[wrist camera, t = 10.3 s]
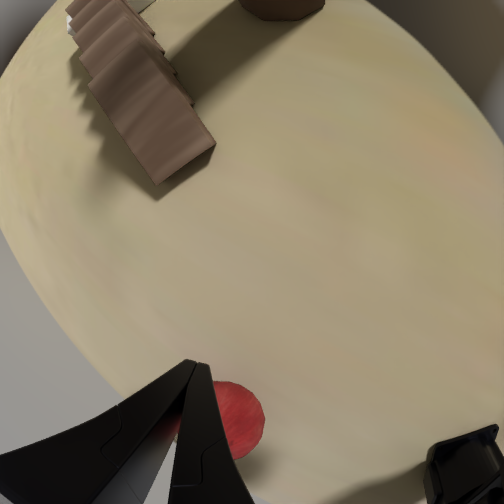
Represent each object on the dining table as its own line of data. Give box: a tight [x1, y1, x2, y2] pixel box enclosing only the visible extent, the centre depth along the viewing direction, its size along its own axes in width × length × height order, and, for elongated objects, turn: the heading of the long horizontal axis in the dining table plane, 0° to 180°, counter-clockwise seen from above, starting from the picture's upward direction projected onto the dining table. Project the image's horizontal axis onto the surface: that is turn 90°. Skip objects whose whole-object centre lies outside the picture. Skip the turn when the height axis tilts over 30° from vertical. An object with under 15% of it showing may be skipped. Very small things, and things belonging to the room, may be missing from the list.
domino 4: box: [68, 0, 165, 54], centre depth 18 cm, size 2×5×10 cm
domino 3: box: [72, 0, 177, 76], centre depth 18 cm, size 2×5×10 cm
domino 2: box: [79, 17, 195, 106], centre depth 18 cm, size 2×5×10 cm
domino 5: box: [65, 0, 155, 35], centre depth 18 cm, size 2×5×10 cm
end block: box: [67, 0, 155, 36], centre depth 20 cm, size 5×9×5 cm, turn 118°
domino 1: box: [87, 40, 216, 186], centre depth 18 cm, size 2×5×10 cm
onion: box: [177, 381, 265, 460], centre depth 16 cm, size 6×6×8 cm
